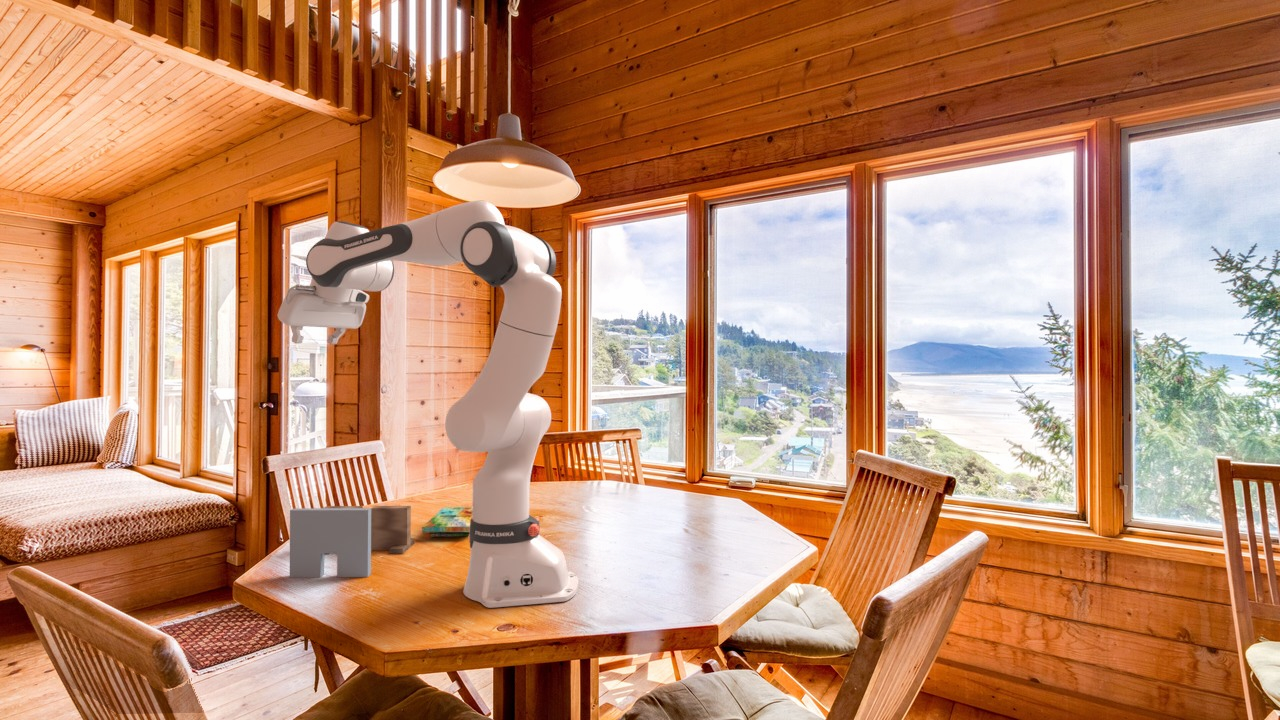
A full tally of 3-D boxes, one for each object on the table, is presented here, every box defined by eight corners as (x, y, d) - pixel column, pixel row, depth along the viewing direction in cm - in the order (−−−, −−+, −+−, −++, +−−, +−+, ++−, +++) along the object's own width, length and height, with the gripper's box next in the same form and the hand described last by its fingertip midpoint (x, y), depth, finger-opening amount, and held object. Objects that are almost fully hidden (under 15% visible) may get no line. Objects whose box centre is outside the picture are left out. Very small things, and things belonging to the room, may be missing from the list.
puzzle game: (485, 504, 170) (469, 523, 150) (485, 520, 170) (469, 541, 150) (444, 504, 169) (422, 523, 149) (444, 520, 169) (422, 542, 149)
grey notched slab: (370, 574, 126) (371, 508, 126) (367, 577, 125) (368, 510, 125) (293, 574, 126) (294, 508, 126) (289, 577, 124) (290, 510, 124)
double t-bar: (414, 543, 147) (414, 503, 147) (402, 553, 139) (403, 511, 139) (332, 543, 147) (332, 503, 147) (315, 554, 139) (316, 511, 139)
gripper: (299, 289, 128) (281, 348, 130) (375, 297, 147) (358, 348, 149) (281, 278, 130) (263, 336, 132) (357, 287, 149) (341, 338, 151)
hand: (314, 342), depth 141 cm, fingers open, 8 cm apart
